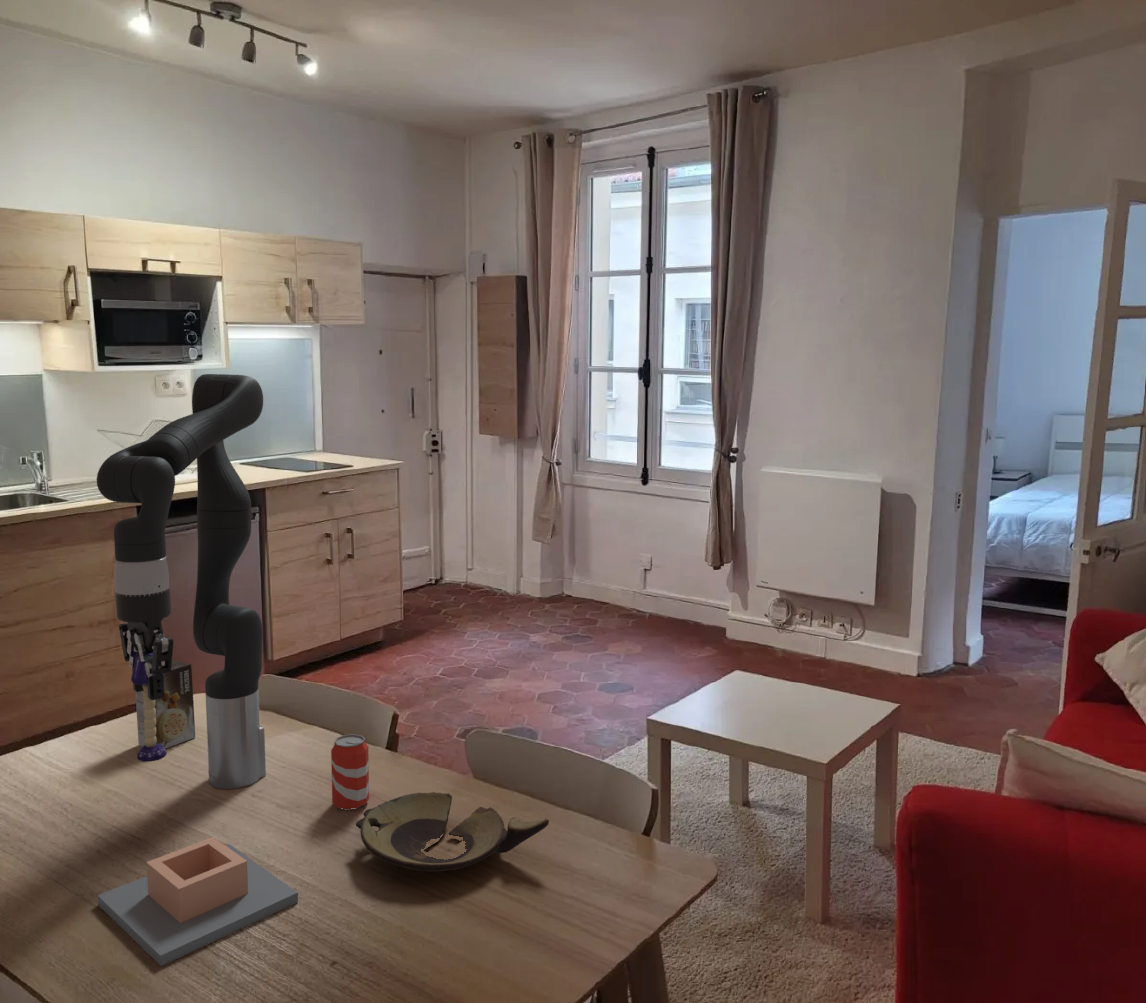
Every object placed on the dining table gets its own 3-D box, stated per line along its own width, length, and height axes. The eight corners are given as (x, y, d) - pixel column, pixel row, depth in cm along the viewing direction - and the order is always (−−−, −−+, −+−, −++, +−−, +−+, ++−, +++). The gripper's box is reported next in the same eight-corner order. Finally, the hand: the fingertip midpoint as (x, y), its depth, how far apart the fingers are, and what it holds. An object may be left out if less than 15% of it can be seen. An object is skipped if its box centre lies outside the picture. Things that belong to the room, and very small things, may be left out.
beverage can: (357, 814, 161) (356, 749, 159) (325, 808, 163) (324, 743, 161) (375, 799, 166) (374, 736, 164) (344, 794, 168) (343, 731, 167)
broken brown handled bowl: (418, 806, 164) (417, 765, 163) (563, 852, 149) (563, 808, 148) (326, 863, 145) (325, 817, 144) (482, 922, 130) (482, 872, 129)
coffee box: (177, 731, 195) (174, 658, 193) (196, 738, 192) (193, 663, 190) (137, 745, 188) (133, 669, 185) (155, 753, 184) (151, 675, 182)
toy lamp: (175, 753, 146) (169, 652, 143) (153, 765, 142) (147, 661, 139) (151, 749, 147) (145, 648, 145) (128, 760, 143) (122, 657, 141)
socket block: (229, 852, 147) (227, 814, 146) (298, 902, 134) (296, 860, 133) (98, 905, 133) (95, 862, 132) (161, 966, 119) (158, 920, 118)
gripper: (189, 590, 138) (194, 699, 141) (146, 575, 148) (152, 677, 150) (138, 599, 133) (144, 713, 135) (97, 583, 142) (104, 689, 145)
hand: (148, 693), depth 143 cm, fingers closed on toy lamp, 4 cm apart
